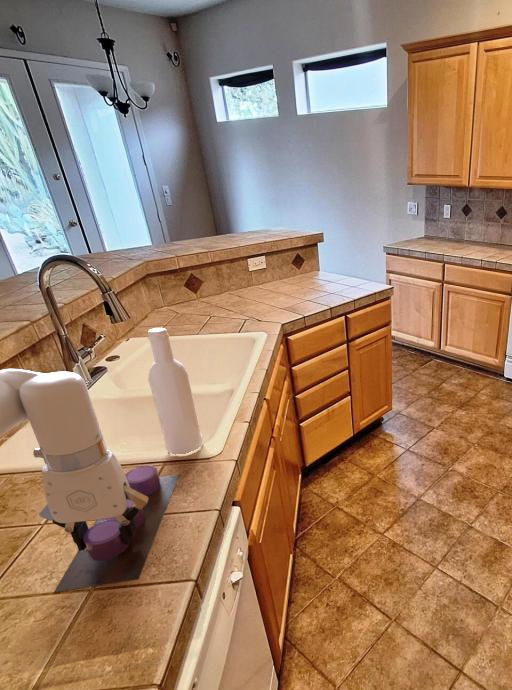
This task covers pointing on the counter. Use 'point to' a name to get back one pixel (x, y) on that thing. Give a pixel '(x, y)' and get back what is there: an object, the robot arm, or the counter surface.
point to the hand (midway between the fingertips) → (107, 540)
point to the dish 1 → (104, 540)
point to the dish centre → (138, 519)
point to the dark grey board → (130, 560)
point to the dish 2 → (144, 479)
